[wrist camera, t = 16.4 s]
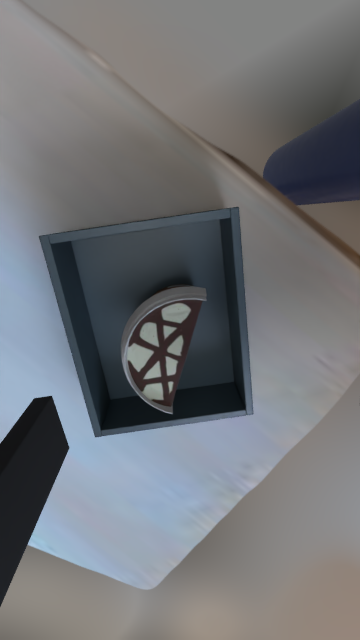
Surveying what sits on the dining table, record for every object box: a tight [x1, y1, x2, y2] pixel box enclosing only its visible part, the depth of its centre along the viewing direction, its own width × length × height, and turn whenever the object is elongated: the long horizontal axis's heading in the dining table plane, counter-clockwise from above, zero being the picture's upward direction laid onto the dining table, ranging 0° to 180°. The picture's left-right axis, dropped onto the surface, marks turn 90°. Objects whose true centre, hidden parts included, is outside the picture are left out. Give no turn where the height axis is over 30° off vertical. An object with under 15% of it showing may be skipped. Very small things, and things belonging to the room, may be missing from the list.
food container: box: [121, 284, 207, 414], centre depth 31 cm, size 12×6×10 cm, turn 165°
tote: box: [39, 207, 253, 437], centre depth 33 cm, size 18×22×7 cm
